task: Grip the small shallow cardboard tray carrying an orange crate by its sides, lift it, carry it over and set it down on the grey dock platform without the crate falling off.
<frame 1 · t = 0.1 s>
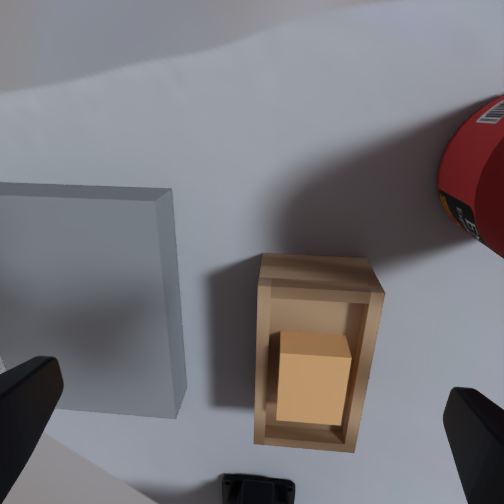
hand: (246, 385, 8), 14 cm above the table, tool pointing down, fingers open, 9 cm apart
dock: (98, 296, 25), on the table
shallow cardboard tray: (306, 332, 25), on the table, touching crate
crate: (309, 366, 21), point 3 cm above the table, touching shallow cardboard tray
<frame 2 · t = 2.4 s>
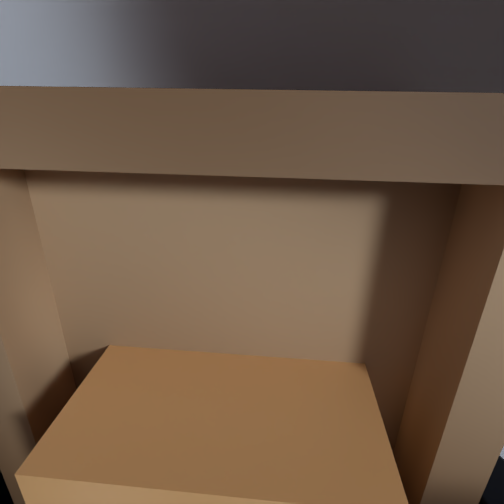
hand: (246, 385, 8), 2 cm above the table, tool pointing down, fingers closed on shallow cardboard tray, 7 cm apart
shallow cardboard tray: (251, 342, 9), on the table, touching crate, gripper
crate: (234, 468, 6), point 3 cm above the table, touching shallow cardboard tray
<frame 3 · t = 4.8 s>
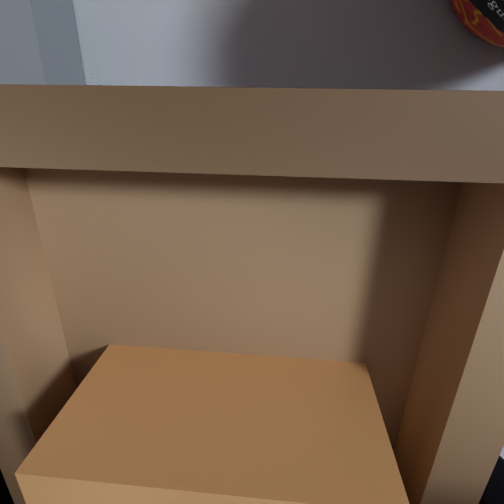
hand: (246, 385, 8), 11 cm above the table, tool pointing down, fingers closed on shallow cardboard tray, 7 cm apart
shallow cardboard tray: (251, 342, 9), point 10 cm above the table, touching crate, gripper
crate: (234, 467, 6), point 13 cm above the table, touching shallow cardboard tray
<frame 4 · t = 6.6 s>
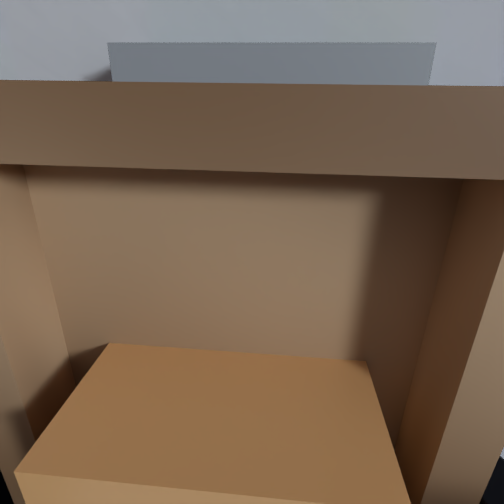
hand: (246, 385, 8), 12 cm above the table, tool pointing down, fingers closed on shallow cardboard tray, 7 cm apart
dock: (264, 225, 18), on the table
shallow cardboard tray: (251, 341, 9), point 10 cm above the table, touching crate, gripper
crate: (234, 466, 6), point 13 cm above the table, touching shallow cardboard tray
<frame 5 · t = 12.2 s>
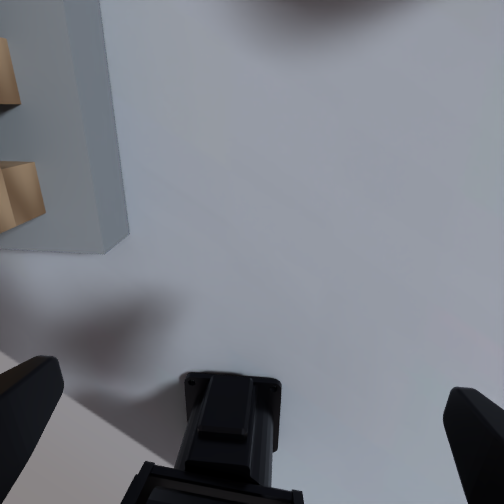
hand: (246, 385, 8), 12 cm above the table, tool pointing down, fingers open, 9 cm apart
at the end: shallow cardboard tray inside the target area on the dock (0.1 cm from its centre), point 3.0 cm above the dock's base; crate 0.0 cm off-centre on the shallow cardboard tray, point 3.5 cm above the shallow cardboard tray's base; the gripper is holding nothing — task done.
